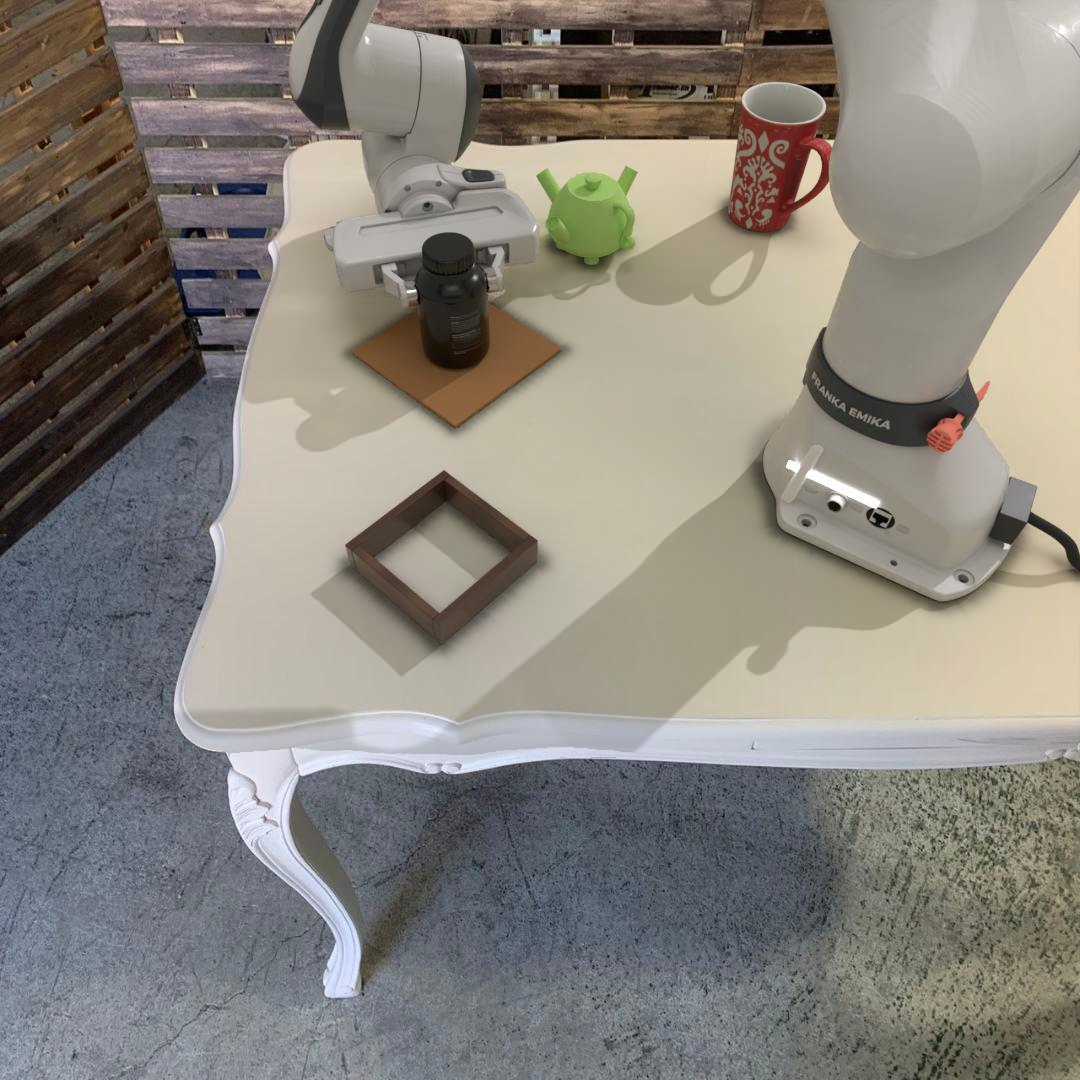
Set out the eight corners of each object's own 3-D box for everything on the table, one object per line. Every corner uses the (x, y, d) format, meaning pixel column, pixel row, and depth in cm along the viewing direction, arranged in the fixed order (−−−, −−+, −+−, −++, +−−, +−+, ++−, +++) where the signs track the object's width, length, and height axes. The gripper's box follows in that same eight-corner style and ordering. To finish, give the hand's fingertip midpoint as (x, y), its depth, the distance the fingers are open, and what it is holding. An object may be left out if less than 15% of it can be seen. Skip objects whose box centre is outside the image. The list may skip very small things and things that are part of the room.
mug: (703, 206, 107) (724, 94, 96) (760, 184, 110) (787, 73, 99) (774, 262, 101) (805, 149, 90) (833, 237, 104) (869, 124, 93)
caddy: (537, 561, 76) (538, 540, 73) (442, 645, 71) (439, 625, 68) (446, 491, 80) (444, 469, 78) (350, 565, 75) (344, 544, 73)
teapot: (644, 274, 99) (653, 205, 92) (540, 277, 99) (542, 208, 92) (631, 215, 106) (639, 147, 99) (534, 217, 105) (535, 148, 98)
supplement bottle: (494, 329, 93) (491, 227, 83) (485, 374, 89) (481, 273, 79) (428, 323, 93) (418, 221, 83) (416, 368, 89) (404, 267, 79)
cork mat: (561, 351, 91) (561, 348, 91) (455, 428, 85) (455, 425, 84) (458, 286, 97) (458, 283, 97) (351, 354, 91) (351, 351, 90)
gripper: (315, 197, 88) (337, 284, 80) (517, 168, 91) (557, 247, 84) (326, 253, 93) (348, 339, 85) (517, 222, 96) (555, 302, 89)
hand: (453, 293), depth 84 cm, fingers closed on supplement bottle, 7 cm apart
